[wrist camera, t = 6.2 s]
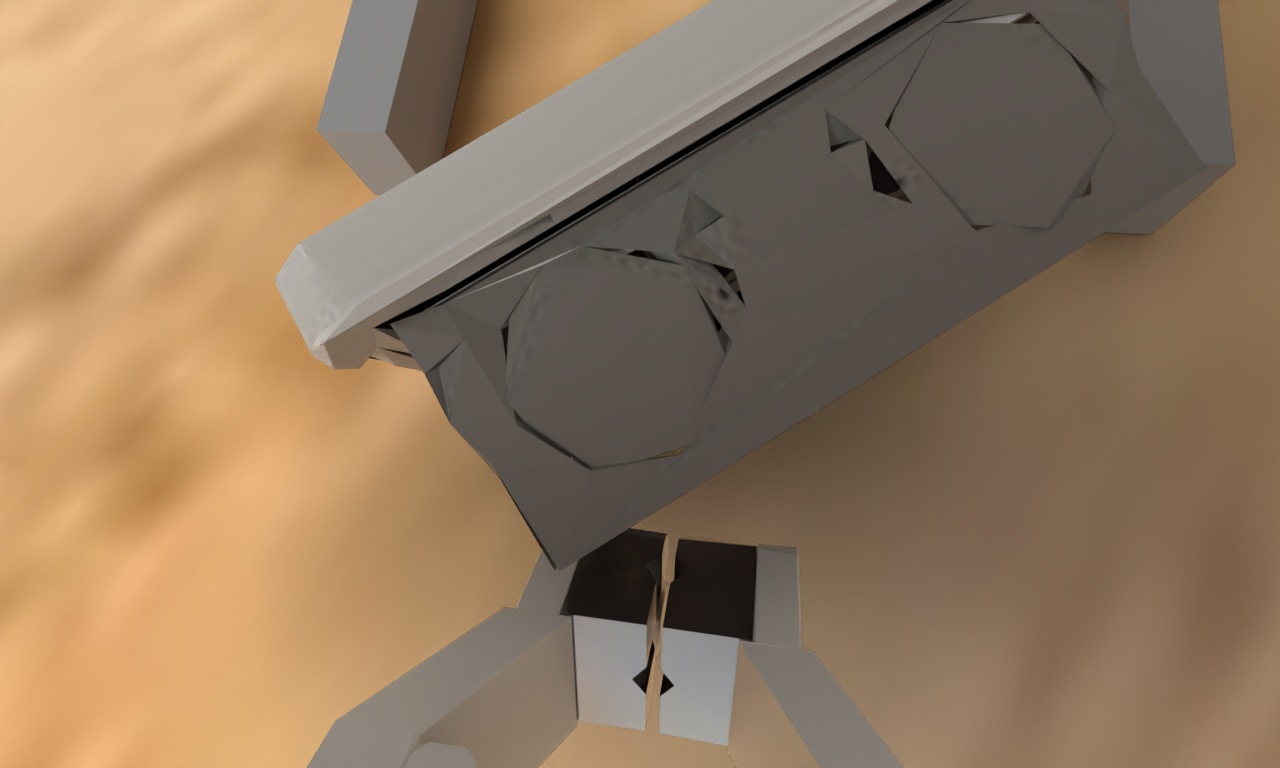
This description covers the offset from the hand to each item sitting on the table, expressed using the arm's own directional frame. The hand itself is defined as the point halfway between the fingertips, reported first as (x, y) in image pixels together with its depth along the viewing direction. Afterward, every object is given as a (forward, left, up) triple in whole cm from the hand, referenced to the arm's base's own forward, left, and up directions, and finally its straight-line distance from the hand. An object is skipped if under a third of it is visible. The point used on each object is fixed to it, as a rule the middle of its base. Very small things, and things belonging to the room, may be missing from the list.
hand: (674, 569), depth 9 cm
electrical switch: (-3, +4, -5) cm, 7 cm away
